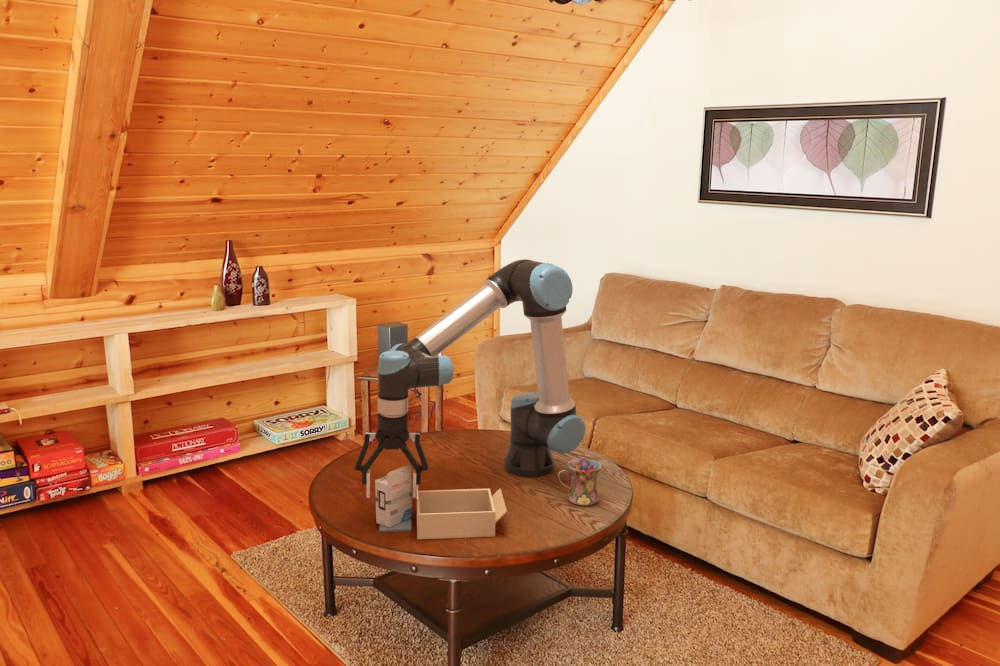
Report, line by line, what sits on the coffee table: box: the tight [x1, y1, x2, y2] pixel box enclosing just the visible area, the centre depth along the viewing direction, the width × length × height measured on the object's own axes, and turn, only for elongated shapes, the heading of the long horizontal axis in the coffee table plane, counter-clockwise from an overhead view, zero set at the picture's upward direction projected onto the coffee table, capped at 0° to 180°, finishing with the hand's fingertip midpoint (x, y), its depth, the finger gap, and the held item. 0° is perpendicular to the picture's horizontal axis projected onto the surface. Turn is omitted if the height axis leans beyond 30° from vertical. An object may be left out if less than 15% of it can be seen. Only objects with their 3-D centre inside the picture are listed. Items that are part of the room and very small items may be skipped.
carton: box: [416, 484, 508, 540], centre depth 209 cm, size 22×17×10 cm
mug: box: [557, 458, 603, 506], centre depth 223 cm, size 12×9×11 cm
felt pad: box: [378, 517, 412, 533], centre depth 210 cm, size 8×11×1 cm
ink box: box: [374, 463, 413, 528], centre depth 208 cm, size 8×5×15 cm, turn 141°
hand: (391, 495), depth 208 cm, fingers open, 11 cm apart
